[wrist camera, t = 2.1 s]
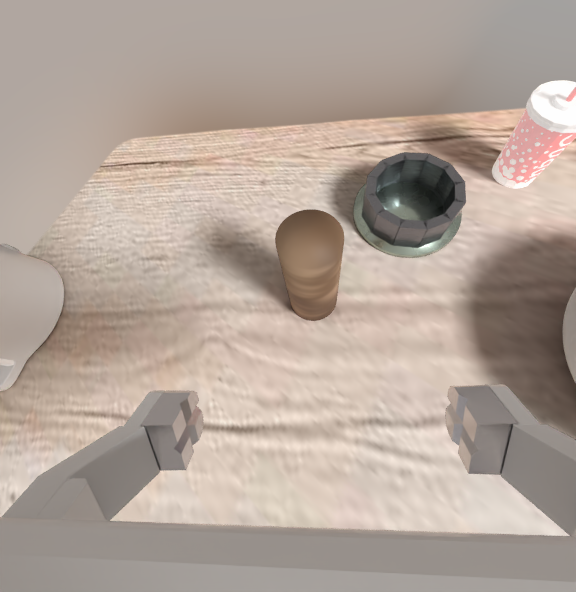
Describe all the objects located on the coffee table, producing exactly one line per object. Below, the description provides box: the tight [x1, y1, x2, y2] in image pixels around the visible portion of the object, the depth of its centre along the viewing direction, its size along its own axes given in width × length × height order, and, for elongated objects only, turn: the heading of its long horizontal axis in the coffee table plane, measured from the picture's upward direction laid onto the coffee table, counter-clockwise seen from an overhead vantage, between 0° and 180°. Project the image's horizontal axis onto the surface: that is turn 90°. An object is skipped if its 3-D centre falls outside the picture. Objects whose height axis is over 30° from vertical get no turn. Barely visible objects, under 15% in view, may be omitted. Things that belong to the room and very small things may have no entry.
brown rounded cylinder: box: [275, 210, 344, 321], centre depth 28 cm, size 5×5×12 cm
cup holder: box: [353, 152, 466, 258], centre depth 35 cm, size 12×12×4 cm
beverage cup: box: [492, 80, 576, 188], centre depth 31 cm, size 6×6×14 cm
